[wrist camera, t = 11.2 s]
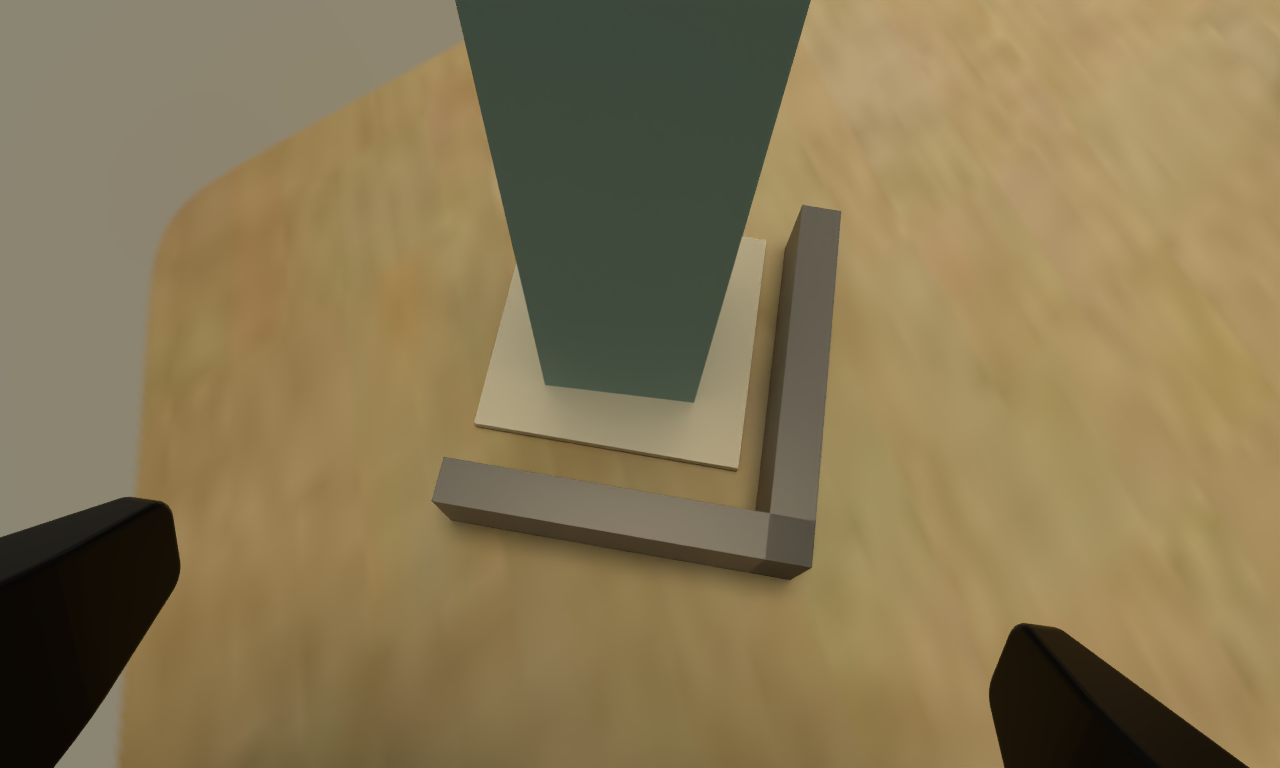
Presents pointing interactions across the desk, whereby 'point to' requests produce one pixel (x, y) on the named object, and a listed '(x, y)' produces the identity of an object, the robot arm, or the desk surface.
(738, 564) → the corner arena
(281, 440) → the desk surface
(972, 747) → the desk surface
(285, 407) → the desk surface
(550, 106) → the teal block
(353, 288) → the desk surface
